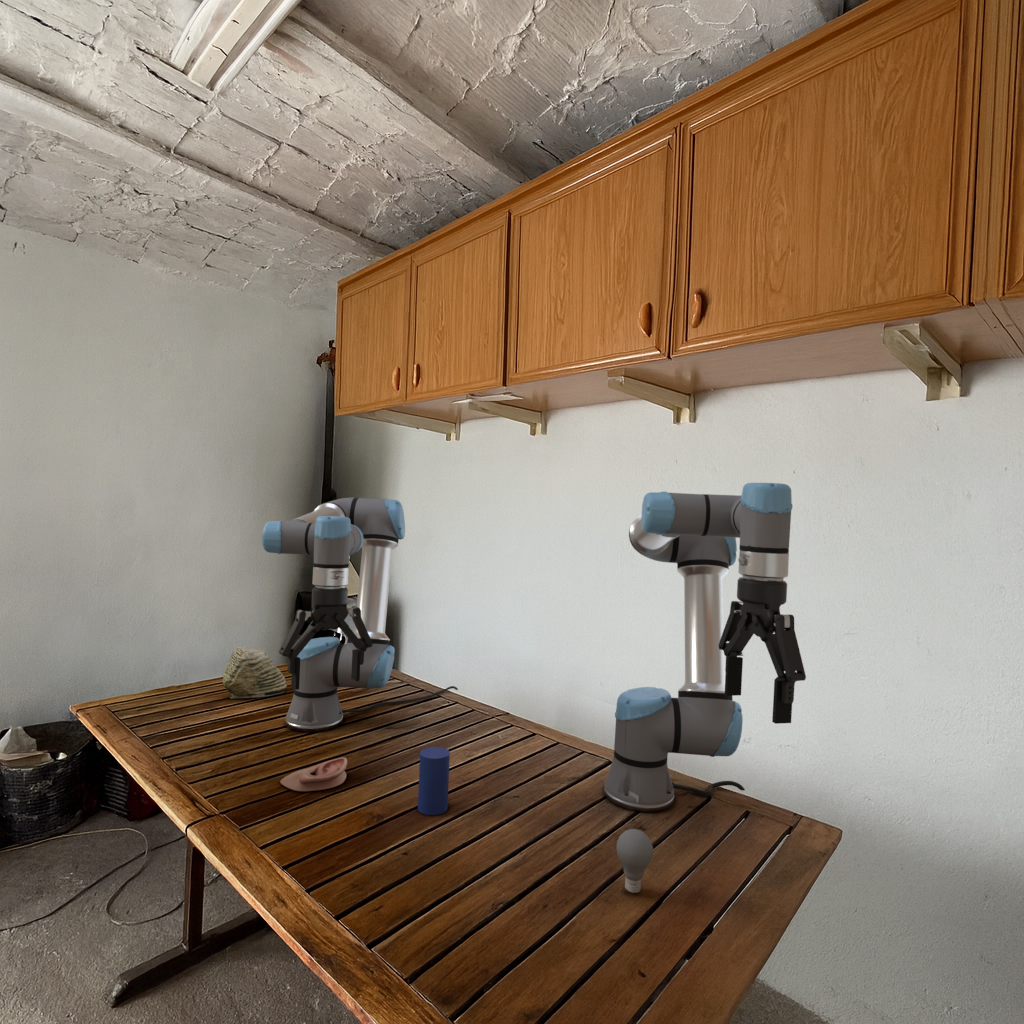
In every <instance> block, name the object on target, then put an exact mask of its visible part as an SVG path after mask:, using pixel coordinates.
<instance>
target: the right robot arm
mask: <svg viewBox="0 0 1024 1024" xmlns="http://www.w3.org/2000/svg"><path fill="white" fill-rule="evenodd" d="M642 500H643V501H642V505H641V514H640V515H639V516H636V518H635V519H634V520H633V521H632V523H631V524H630V526H629V530H628V539H629V542H630V544H631V546H632V548H633V549H634V550H635V551H636V552H637V553H638V554H640V555H641V556H643V557H645V558H648V559H649V560H653V561H656V562H659V563H660V562H661V563H671V564H676V565H677V566H676V567H677V569H676V570H677V573H678V574H679V575H680V576H681V577H682V578H683V600H684V602H683V605H684V606H683V608H684V609H683V610H684V611H683V612H684V613H683V614H684V683H683V684H682V685H681V686H680V687H679V688H678V689H677V697H672V695H671V693H670V692H669V691H668V690H666V689H664V688H658V687H656V686H655V687H653V686H641V687H634V688H630V689H627V690H625V691H623V692H621V693H620V694H619V695H618V697H617V700H616V708H615V712H614V718H615V726H614V727H615V728H614V729H615V730H614V745H613V746H614V747H613V759H612V760H611V764H610V767H609V769H608V772H607V774H606V776H605V779H604V783H603V794H604V797H606V798H607V799H608V801H610V802H611V803H613V804H614V805H617V806H618V807H621V808H623V809H626V810H630V811H634V812H643V813H644V812H645V813H654V812H660V811H664V810H667V809H669V808H671V807H672V806H673V805H674V803H675V789H676V790H681V791H686V792H692V793H695V794H697V795H701V796H711V795H712V794H713V792H714V791H713V789H716V788H719V787H723V786H733V787H736V788H737V789H738V790H740V791H745V790H746V789H745V787H744V786H743V785H742V784H740V783H739V782H737V781H733V780H720V781H717V782H712V783H710V784H711V785H710V784H708V786H707V790H703V789H699V788H696V787H693V786H687V785H682V784H679V783H673V781H672V777H671V773H670V770H669V767H668V756H669V754H680V755H681V754H682V755H693V756H694V755H695V756H708V757H711V758H715V757H731V756H732V755H734V753H736V751H737V749H738V747H739V745H740V742H741V739H742V732H743V720H744V719H743V718H744V717H743V713H742V711H743V709H742V705H741V704H740V703H739V702H737V701H736V700H733V696H742V684H743V683H742V681H743V665H744V664H743V662H744V658H743V656H744V654H743V651H744V649H745V647H746V646H747V645H748V643H749V642H750V640H751V639H752V637H753V635H755V636H756V637H759V639H760V641H761V642H763V643H764V644H765V647H766V650H767V652H768V654H769V657H770V660H771V663H772V665H773V667H774V670H775V673H776V675H777V676H776V678H774V681H773V699H772V700H773V701H772V721H771V722H772V723H773V724H792V714H793V713H792V712H793V703H794V702H795V701H794V700H795V697H794V696H795V685H796V682H801V681H806V679H807V675H806V671H805V667H804V663H803V659H802V654H801V651H800V647H799V643H798V637H797V635H796V630H795V616H794V615H793V614H781V606H782V605H784V604H786V603H787V598H788V597H787V596H788V583H787V581H785V579H787V578H788V577H789V566H790V565H789V562H790V553H789V552H790V549H789V548H790V539H791V537H790V536H791V535H790V534H791V522H792V520H791V519H792V510H793V501H792V489H791V487H790V486H789V485H788V484H786V483H779V482H778V483H777V482H747V483H745V484H744V485H743V487H742V491H741V495H738V494H737V495H735V494H711V493H709V494H707V493H682V492H667V491H659V492H657V491H654V492H652V491H651V492H647V493H646V494H645V495H644V496H643V499H642ZM737 539H739V547H738V546H737ZM738 549H739V555H738V556H739V557H738V559H737V551H738ZM736 560H738V569H737V570H738V574H739V575H741V576H740V577H739V578H738V579H737V585H736V599H737V600H732V601H731V603H730V607H729V608H730V609H729V614H728V617H727V619H726V623H725V625H724V602H723V601H724V600H723V597H724V595H723V579H724V578H725V576H727V575H728V574H729V573H730V572H729V569H730V568H729V567H731V566H733V565H735V563H736Z"/></svg>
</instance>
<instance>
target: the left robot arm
mask: <svg viewBox="0 0 1024 1024" xmlns="http://www.w3.org/2000/svg"><path fill="white" fill-rule="evenodd" d="M405 534H406V523H405V513H404V508H403V504H402V502H400V501H399V500H397V499H390V498H389V499H388V498H387V497H385V498H372V497H371V498H368V497H354V496H353V497H342V498H338V499H334V500H330V501H327V502H324V503H321V504H319V505H318V506H317V507H316V508H314V510H313V511H311V512H308V513H306V514H304V515H303V514H302V515H300V516H299V517H296V518H293V519H290V520H287V521H283V520H275V521H274V520H271V521H267V522H266V523H265V525H264V526H263V528H262V533H261V543H262V548H263V549H264V551H265V552H266V553H270V554H278V555H281V554H283V555H284V554H287V555H309V556H313V565H312V566H313V567H312V582H311V583H312V585H313V586H314V587H313V588H312V589H311V608H310V610H302V609H297V610H296V611H295V618H294V621H293V623H292V625H291V627H290V629H289V631H288V633H287V635H286V637H285V639H284V640H283V642H282V644H281V646H280V648H279V650H278V653H279V654H280V655H281V656H283V657H285V658H287V672H288V673H289V674H291V679H290V680H291V682H290V683H291V684H290V687H291V688H292V689H293V695H292V696H293V697H292V699H291V702H290V704H289V708H288V711H287V713H286V715H285V726H286V728H287V729H289V730H291V731H294V732H295V731H296V732H301V733H316V732H325V731H329V730H332V729H335V728H337V727H339V726H340V725H342V723H343V722H344V714H343V713H358V712H359V713H360V712H364V711H367V710H370V709H373V708H375V707H379V706H385V705H392V704H405V703H411V702H417V701H421V700H425V699H429V698H432V697H434V696H437V695H440V694H442V693H444V692H447V691H448V690H450V689H454V690H455V691H458V690H459V688H458V687H457V686H455V685H450V686H448V687H446V688H444V689H441V690H438V691H436V692H434V693H431V694H428V695H424V696H421V697H415V698H409V699H403V700H393V701H383V702H378V703H374V704H371V705H369V706H368V705H367V706H366V707H363V708H358V709H357V708H355V709H342V706H341V702H340V699H339V695H338V688H355V689H368V690H370V689H381V688H384V687H385V686H386V685H387V684H388V682H389V680H390V677H391V675H392V670H393V668H394V667H393V666H394V661H395V652H396V650H395V647H394V646H392V645H391V644H390V641H391V639H390V638H389V637H388V635H387V634H386V625H387V613H388V605H389V604H388V603H389V602H388V601H389V593H390V591H389V590H390V581H391V580H390V579H391V571H392V570H391V569H392V559H393V551H394V550H395V549H396V548H397V547H399V541H401V540H403V539H405V537H406V536H405ZM360 550H361V560H360V568H359V569H360V570H359V578H358V588H357V599H356V606H355V605H353V606H351V607H349V608H348V598H349V597H348V596H349V595H348V594H349V588H347V587H346V586H348V585H349V573H350V557H351V556H354V555H355V554H356V553H358V552H359V551H360ZM348 615H349V617H351V619H352V621H353V623H354V627H353V630H352V628H351V627H350V626H349V624H348V623H347V622H346V619H347V617H348ZM309 618H310V620H311V622H310V623H309V625H308V626H307V628H306V629H305V631H304V632H303V633H302V634H301V636H300V637H299V635H300V632H301V631H302V629H303V627H304V625H305V622H306V621H308V619H309ZM338 629H340V630H341V632H342V633H343V634H344V635H345V636H346V637H347V642H346V643H341V641H340V638H338V637H337V636H335V637H334V636H324V637H322V636H321V637H315V635H316V634H318V633H319V631H320V630H321V631H328V630H338ZM298 637H299V638H298ZM314 637H315V638H314Z"/></svg>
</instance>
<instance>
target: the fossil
mask: <svg viewBox="0 0 1024 1024" xmlns="http://www.w3.org/2000/svg"><path fill="white" fill-rule="evenodd" d="M222 676H223V677H222V685H223V687H224V688H225V690H226V691H228V693H229V698H230V699H250V698H264V697H271V696H275V695H281V694H284V693H285V691H286V689H287V687H288V686H287V680H286V678H285V676H284V674H283V673H282V672H281V669H279V668H278V667H277V665H276V663H275V662H274V660H273V659H272V658H271V657H270V656H269V655H268V654H267V653H266V652H265V650H264V649H263V648H260V647H258V648H251V647H247V646H246V647H245V646H238V647H237V648H236V649H235V650H233V651H232V653H231V656H230V657H229V659H228V660H227V663H226V666H225V668H224V671H223V675H222Z"/></svg>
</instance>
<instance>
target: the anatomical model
mask: <svg viewBox="0 0 1024 1024" xmlns="http://www.w3.org/2000/svg"><path fill="white" fill-rule="evenodd" d="M347 766H348V758H347V757H343V756H342V757H338V758H334V759H330V760H327V761H326V760H325V761H324V762H320V763H318V764H316V765H313V766H310V767H307V768H303V769H299V770H296V771H294V772H292V773H290V774H288V775H286V776H284V777H282V779H280V782H279V783H280V785H282V786H283V787H285V788H286V789H289V790H292V791H295V792H312V791H313V792H314V791H322V790H327V789H331V788H335V787H338V786H341V785H342V784H343V783H344V782H345V781H346V779H347V773H346V771H345V770H346V769H347Z"/></svg>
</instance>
